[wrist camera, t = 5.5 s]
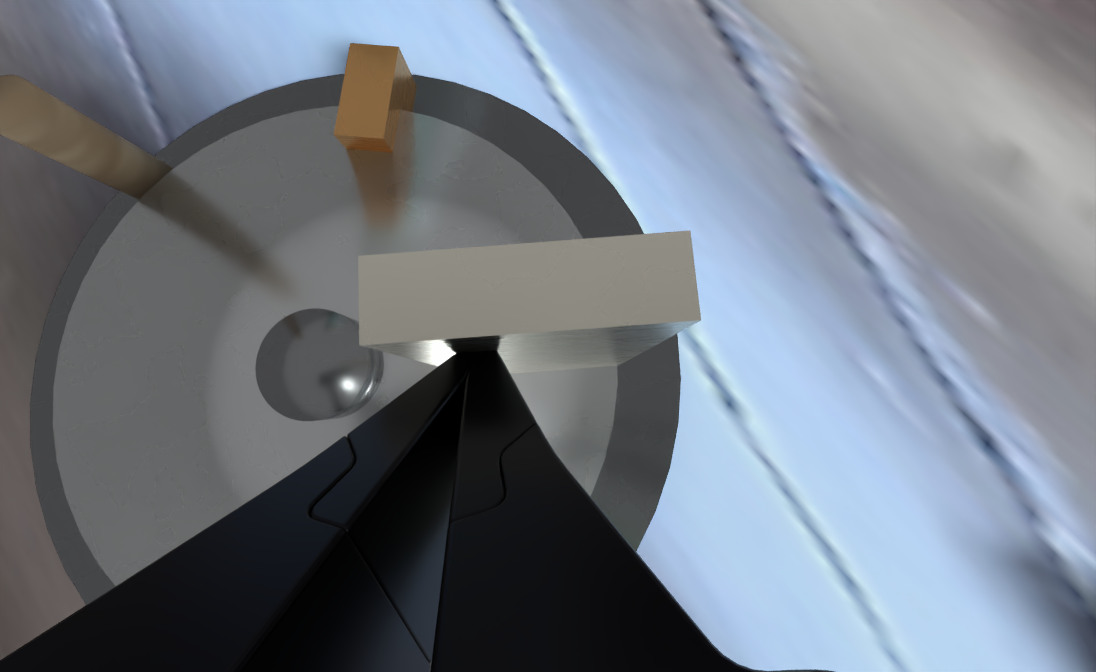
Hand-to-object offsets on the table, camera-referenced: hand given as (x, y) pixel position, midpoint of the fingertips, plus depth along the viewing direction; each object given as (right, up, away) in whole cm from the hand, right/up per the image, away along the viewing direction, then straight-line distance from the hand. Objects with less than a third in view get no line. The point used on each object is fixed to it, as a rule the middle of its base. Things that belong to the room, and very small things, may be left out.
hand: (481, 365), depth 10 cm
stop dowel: (-16, +7, +11) cm, 21 cm away
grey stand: (-7, 0, +9) cm, 11 cm away
